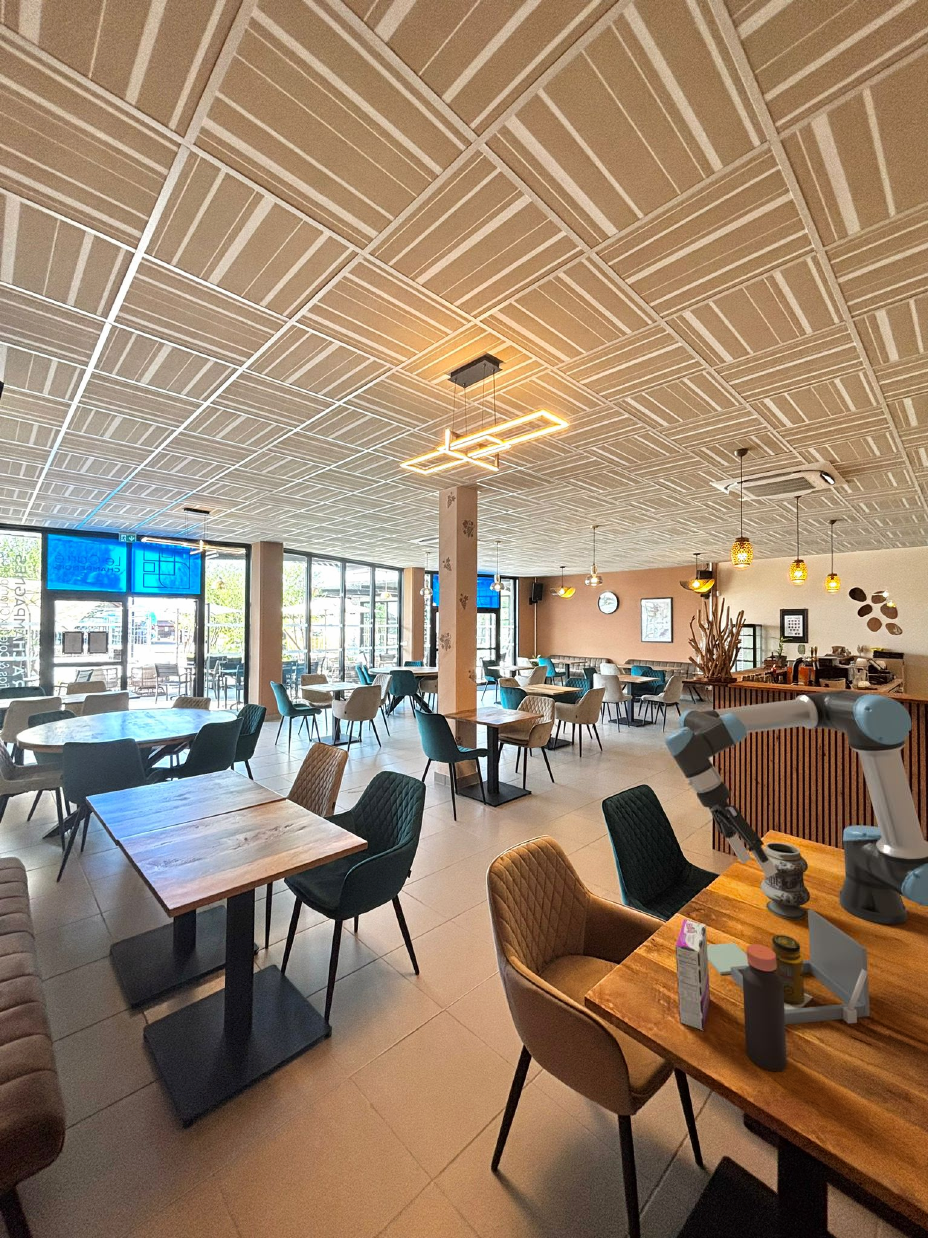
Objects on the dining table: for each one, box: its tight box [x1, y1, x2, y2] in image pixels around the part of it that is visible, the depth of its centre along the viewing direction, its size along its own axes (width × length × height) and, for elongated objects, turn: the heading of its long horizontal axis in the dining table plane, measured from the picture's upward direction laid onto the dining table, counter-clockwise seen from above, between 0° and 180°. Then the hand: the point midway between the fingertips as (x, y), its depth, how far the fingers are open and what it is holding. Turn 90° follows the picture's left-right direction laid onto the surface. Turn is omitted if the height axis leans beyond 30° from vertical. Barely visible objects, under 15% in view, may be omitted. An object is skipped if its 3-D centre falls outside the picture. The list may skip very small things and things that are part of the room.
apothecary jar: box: [760, 841, 811, 921], centre depth 146 cm, size 12×12×18 cm
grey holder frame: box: [730, 909, 871, 1026], centre depth 112 cm, size 21×16×14 cm
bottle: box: [742, 943, 788, 1072], centre depth 97 cm, size 7×7×20 cm
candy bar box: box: [675, 919, 711, 1032], centre depth 109 cm, size 11×5×16 cm, turn 148°
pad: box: [707, 942, 749, 975], centre depth 126 cm, size 10×10×1 cm
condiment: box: [770, 934, 813, 1010], centre depth 113 cm, size 7×8×12 cm
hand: (758, 867), depth 125 cm, fingers open, 13 cm apart
